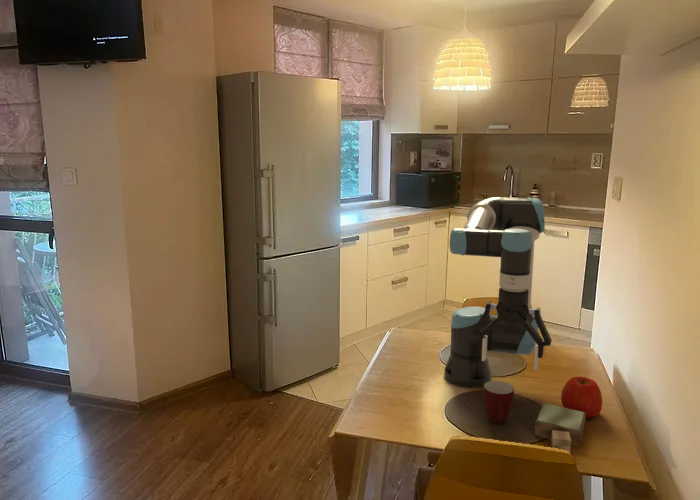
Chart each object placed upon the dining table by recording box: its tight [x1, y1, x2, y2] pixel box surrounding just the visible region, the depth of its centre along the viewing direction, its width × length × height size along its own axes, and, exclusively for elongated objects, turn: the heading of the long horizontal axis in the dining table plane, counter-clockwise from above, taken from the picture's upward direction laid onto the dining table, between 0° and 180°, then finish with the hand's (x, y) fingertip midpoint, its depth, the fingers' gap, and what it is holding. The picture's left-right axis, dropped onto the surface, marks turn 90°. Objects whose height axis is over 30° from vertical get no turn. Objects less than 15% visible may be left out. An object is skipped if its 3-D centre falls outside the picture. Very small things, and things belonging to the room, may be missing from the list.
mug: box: [482, 380, 515, 425], centre depth 146 cm, size 11×8×10 cm
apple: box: [560, 376, 603, 419], centre depth 151 cm, size 11×11×11 cm
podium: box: [534, 402, 586, 447], centre depth 142 cm, size 11×11×4 cm
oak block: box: [550, 430, 572, 453], centre depth 134 cm, size 4×4×4 cm
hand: (509, 363), depth 143 cm, fingers open, 13 cm apart
